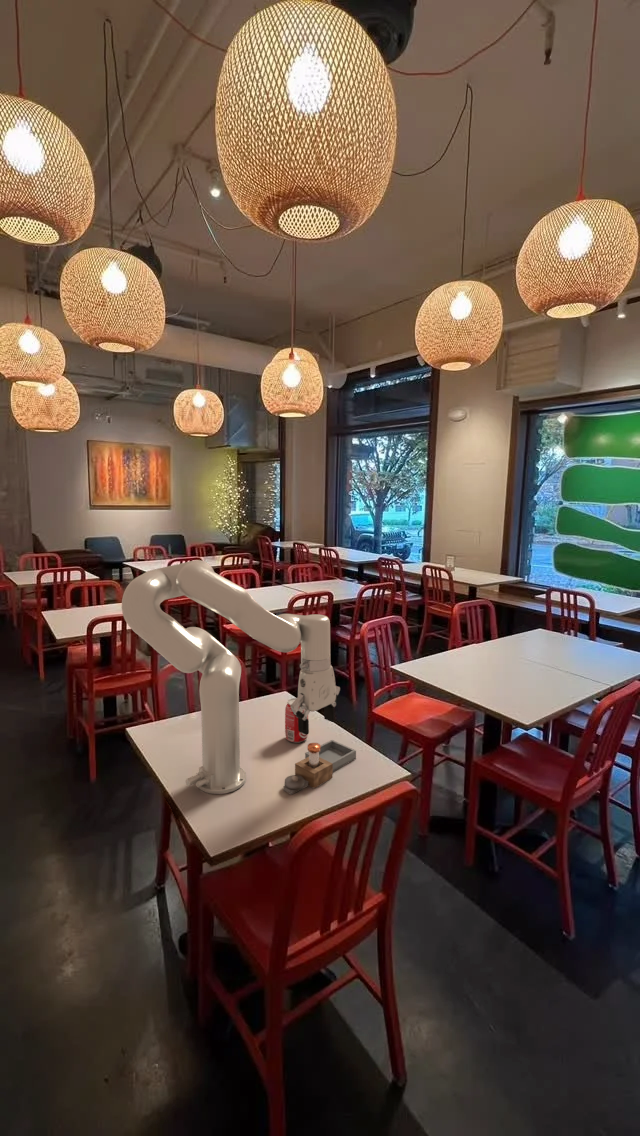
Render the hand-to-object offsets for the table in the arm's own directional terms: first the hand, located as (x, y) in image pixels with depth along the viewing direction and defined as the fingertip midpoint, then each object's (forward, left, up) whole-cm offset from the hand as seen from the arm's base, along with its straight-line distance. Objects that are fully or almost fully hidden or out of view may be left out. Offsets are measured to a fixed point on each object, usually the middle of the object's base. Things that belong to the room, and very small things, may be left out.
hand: (316, 726), depth 132 cm
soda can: (+11, +19, -15) cm, 27 cm away
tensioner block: (-4, 0, -14) cm, 15 cm away
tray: (+10, +3, -14) cm, 17 cm away
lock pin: (0, 0, -14) cm, 14 cm away
